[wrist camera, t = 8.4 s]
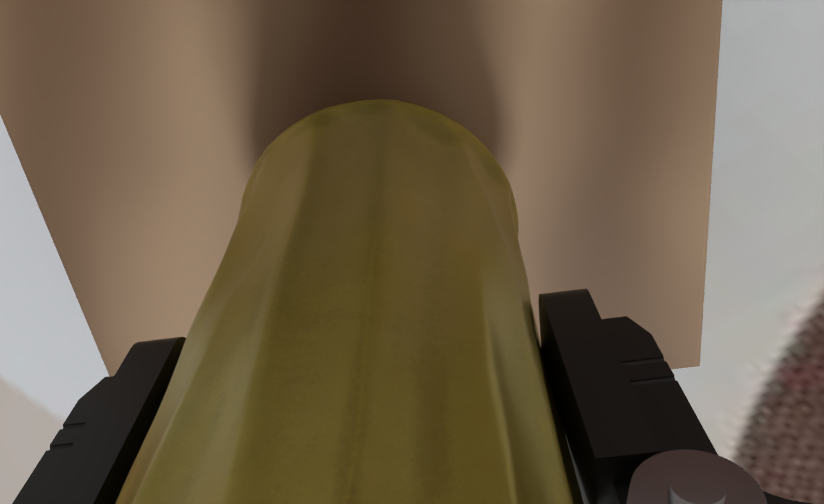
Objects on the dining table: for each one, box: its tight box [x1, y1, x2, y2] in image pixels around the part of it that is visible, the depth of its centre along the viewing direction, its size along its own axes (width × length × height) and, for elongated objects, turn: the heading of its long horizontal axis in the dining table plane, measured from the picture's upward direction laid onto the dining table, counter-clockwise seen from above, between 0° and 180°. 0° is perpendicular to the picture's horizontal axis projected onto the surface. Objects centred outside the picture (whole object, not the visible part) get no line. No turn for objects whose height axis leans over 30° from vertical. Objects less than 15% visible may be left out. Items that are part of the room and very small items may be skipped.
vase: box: [116, 99, 584, 504], centre depth 9 cm, size 6×6×14 cm
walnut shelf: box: [0, 0, 722, 377], centre depth 19 cm, size 16×12×5 cm
